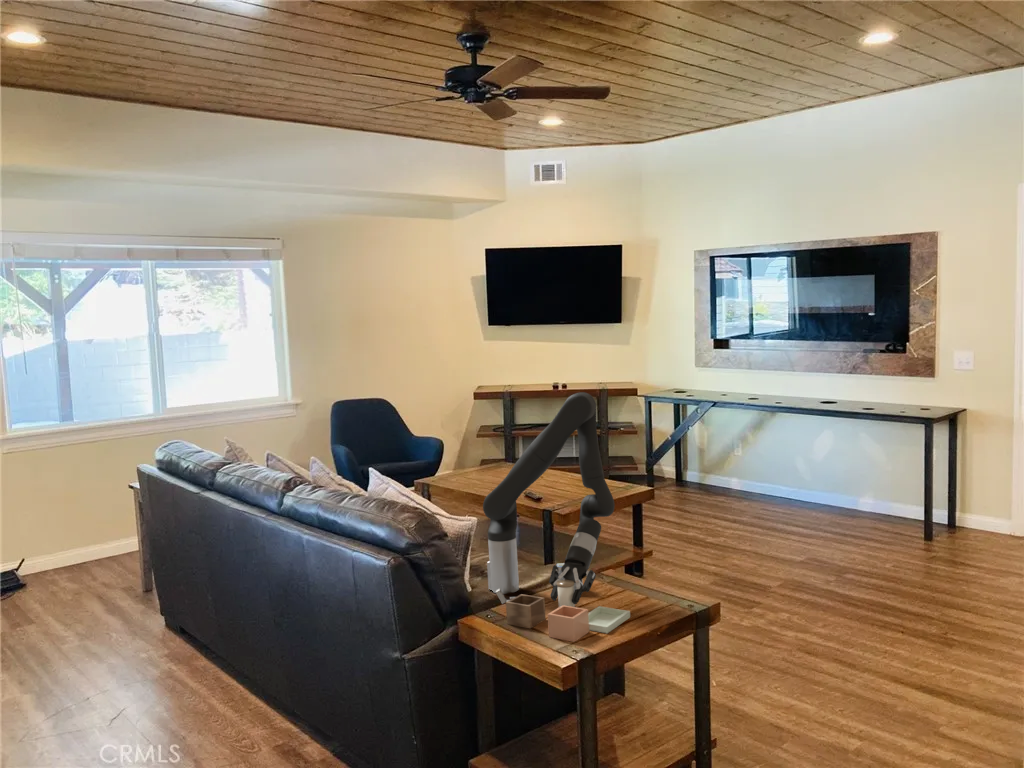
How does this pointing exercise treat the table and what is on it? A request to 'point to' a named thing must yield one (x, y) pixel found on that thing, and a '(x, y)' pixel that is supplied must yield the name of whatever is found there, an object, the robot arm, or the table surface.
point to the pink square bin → (568, 623)
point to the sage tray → (606, 619)
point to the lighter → (502, 596)
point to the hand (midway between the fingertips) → (563, 601)
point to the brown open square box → (525, 611)
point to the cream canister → (565, 592)
